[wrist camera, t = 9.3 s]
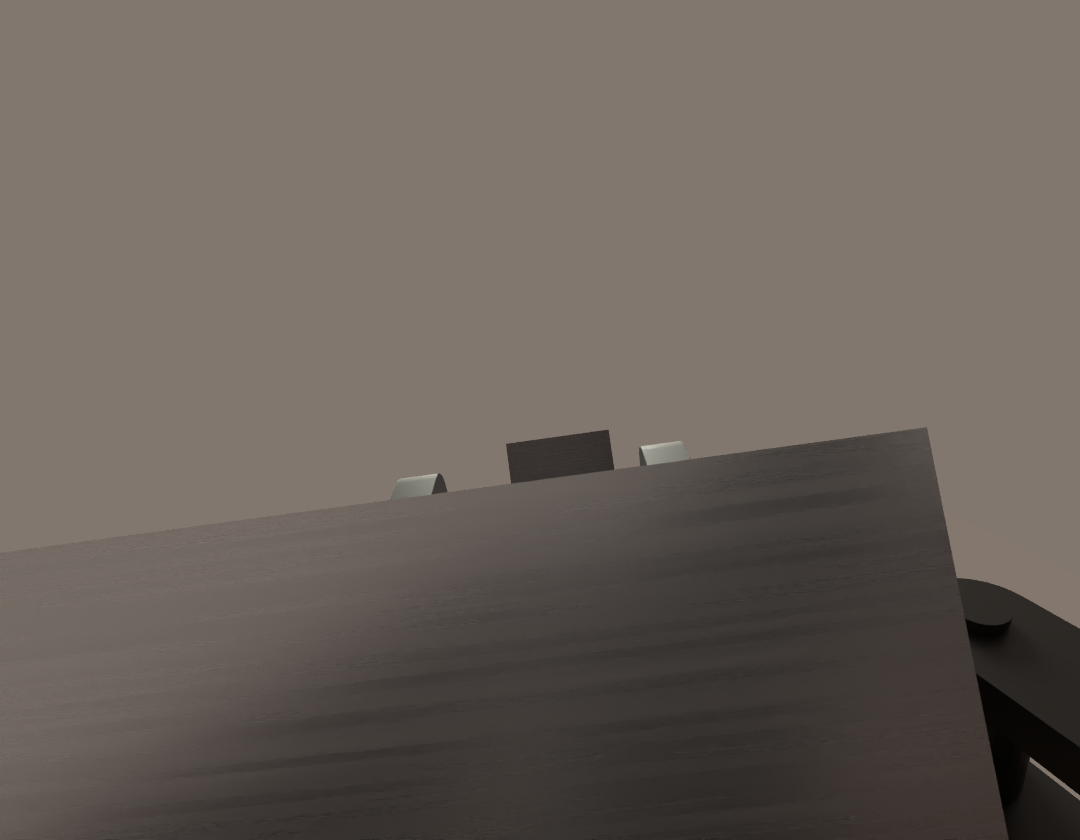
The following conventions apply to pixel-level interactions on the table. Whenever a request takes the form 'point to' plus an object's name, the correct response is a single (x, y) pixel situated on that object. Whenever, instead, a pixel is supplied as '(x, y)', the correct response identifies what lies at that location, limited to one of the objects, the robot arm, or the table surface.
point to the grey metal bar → (514, 662)
